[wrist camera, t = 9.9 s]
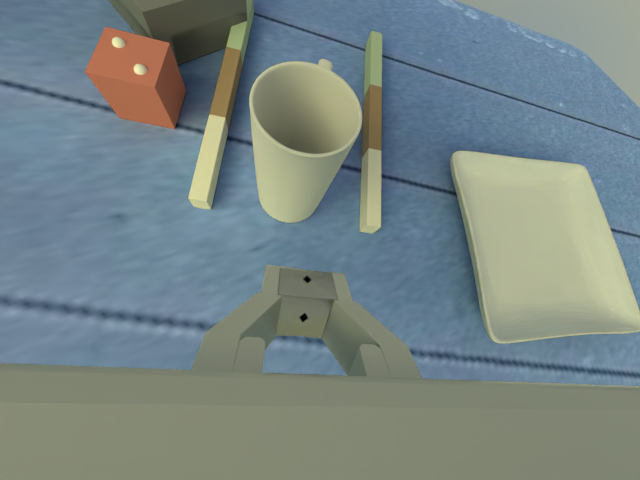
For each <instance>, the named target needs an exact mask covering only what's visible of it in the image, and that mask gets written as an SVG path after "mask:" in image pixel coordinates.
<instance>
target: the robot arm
mask: <svg viewBox="0 0 640 480" xmlns="http://www.w3.org/2000/svg"><path fill="white" fill-rule="evenodd" d="M276 335H284V336H304V337H315V338H323V339H322V340H323V341H324V342H325V344H326V345H327V347H328V348H329V350H330V351H331V352H332V354H333V355H334V357H335V358H336V360H337V361H338V363H339V364H340V365H341V367H342V368H343V370H344V371H345V373H346V374H347V375H348V376H344V375H316V374H289V373H262V370H263V360H264V351H265V350H266V348H267V347H268V346H269V344H270V343H271V342H272V341H273V339H274V338H275V337H276ZM0 480H640V386H617V385H589V384H562V383H535V382H507V381H480V380H452V379H424V378H422V376H421V374H420V372H419V370H418V368H417V366H416V364H415V361H414V359H413V357H412V355H411V353H410V351H409V348H408V346H407V345H406V344H405V343H403V342H402V341H401V340H400V339H399V338H398V337H396V336H395V335H394V334H393V333H392V332H391V331H390V330H388V329H387V328H386V327H385V326H384V325H383V324H381V323H380V322H379V321H378V320H377V319H376V318H375V317H373V316H372V315H371V314H370V313H369V312H368V311H366V310H365V309H364V308H363V307H362V306H361V305H360V304H358V303H357V302H353V300H352V297H351V293H350V290H349V287H348V284H347V280H346V277H345V275H344V274H343V273H334V272H331V273H330V272H320V271H310V270H304V269H296V268H289V267H281V266H280V267H279V266H273V265H266V267H265V273H264V279H263V285H262V291H261V293H256V294H255V295H254V296H252V297H251V298H250V299H248V300H247V301H246V302H245V303H243V304H242V305H241V306H239V307H238V308H237V309H236V310H234V311H233V312H232V313H230V314H229V315H228V316H227V317H225V318H224V319H223V320H221V321H220V322H219V323H218V324H216V325H215V326H214V327H212V328H211V329H210V330H208V331H207V332H206V333H205V335H204V338H203V340H202V343H201V346H200V348H199V351H198V353H197V356H196V359H195V361H194V364H193V366H192V369H191V370H179V369H151V368H124V367H97V366H69V365H42V364H14V363H0Z"/></svg>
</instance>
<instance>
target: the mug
mask: <svg viewBox="0 0 640 480" xmlns="http://www.w3.org/2000/svg"><path fill="white" fill-rule="evenodd" d="M332 67H333V65H332V63H331V62H330V61H328V60H326V59H321V60H320V61H319V63H318V65H317V64H314V63H309V62H302V61H291V62H284V63H280V64H277V65H274V66H272V67H270V68H268V69H267V70H265V71H264V72H263V73H262V74H261V75H260V76H259V77H258V78H257V79H256V81H255V82H254V84H253V86H252V89H251V92H250V98H249V105H250V113H251V130H252V140H253V149H254V159H255V168H256V178H257V186H258V194H259V200H260V203H261V205H262V207H263V208H264V210H265V211H266V212H267V213H268V214H269V215H270V216H271V217H273V218H275V219H276V220H279V221H282V222H287V223H294V222H299V221H302V220H304V219H306V218H308V217H309V216H310V215H312V213H313V212H314V211H315V210H316V208H317V206H318V205H319V203H320V202H321V200H322V198H323V196H324V195H325V193H326V191H327V189H328V188H329V186H330V184H331V182H332V181H333V179H334V177H335V176H336V174H337V172H338V170H339V169H340V167H341V165H342V164H343V162H344V160H345V158H346V157H347V155H348V153H349V151H350V150H351V148H352V146H353V144H354V142H355V140H356V138H357V136H358V135H359V132H360V129H361V126H362V110H361V106H360V103H359V100H358V98H357V96H356V94H355V93H354V91H353V90H352V88H351V87H350V86H349V85H348V84H347V83H346V82H345V81H344V80H343V79H342V78H341V77H340V76H338V75H337V74H336V73H334V72H332Z"/></svg>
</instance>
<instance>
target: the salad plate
mask: <svg viewBox="0 0 640 480" xmlns="http://www.w3.org/2000/svg"><path fill="white" fill-rule="evenodd" d="M450 167H451V174H452V178H453V182H454V186H455V190H456V194H457V198H458V202H459V206H460V210H461V214H462V218H463V223H464V227H465V232H466V236H467V241H468V246H469V251H470V256H471V260H472V266H473V271H474V276H475V282H476V288H477V294H478V300H479V306H480V312H481V317H482V321H483V324H484V327H485V329H486V332H487V333H488V335H489V337H490V338H491V339H492V340H493V341H494V342H496V343H501V344H502V343H515V342H524V341H532V340H539V339H547V338H556V337H565V336H575V335H586V334H623V333H634V332H639V331H640V311H639V308H638V305H637V302H636V299H635V296H634V293H633V290H632V287H631V284H630V281H629V278H628V275H627V273H626V270H625V267H624V264H623V261H622V258H621V256H620V253H619V251H618V248H617V245H616V242H615V240H614V237H613V235H612V232H611V229H610V227H609V224H608V221H607V219H606V216H605V214H604V211H603V208H602V206H601V203H600V201H599V198H598V195H597V193H596V190H595V188H594V185H593V183H592V180H591V178H590V175H589V173H588V171H587V169H586V168H585V167H584V166H582V165H579V164H574V163H566V162H557V161H547V160H538V159H528V158H519V157H511V156H503V155H495V154H488V153H481V152H473V151H456V152H454V153H453V154H452V156H451V160H450Z"/></svg>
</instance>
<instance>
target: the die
mask: <svg viewBox="0 0 640 480" xmlns="http://www.w3.org/2000/svg"><path fill="white" fill-rule="evenodd" d="M85 73H86V74H87V75H88V77H89V78H90V79H91V81H92V82H93V83H94V85H95V86H96V87H97V89H98V90H99V91H100V93H101V94H102V95H103V97H104V98H105V99H106V101H107V102H108V103H109V105H110V106H111V107H112V109H113V110H114V111H115V113H116V114H117V115H118V117H119V118H122V119H127V120H132V121H137V122H142V123H147V124H152V125H157V126H163V127H168V128H173V129H175V127H176V124H177V121H178V117H179V114H180V110H181V107H182V104H183V100H184V97H185V93H186V88H185V85H184V82H183V79H182V76H181V74H180V71H179V68H178V65H177V62H176V59H175V57H174V54H173V51H172V48H171V45H170V43H168V42H164V41H160V40H156V39H152V38H148V37H144V36H140V35H136V34H132V33H128V32H124V31H120V30H116V29H113V28H109V27H105V29H104V31H103V33H102V35H101V38H100V40H99V42H98V44H97V46H96V49H95V51H94V53H93V55H92V57H91V60H90V62H89V64H88V66H87V68H86V71H85Z"/></svg>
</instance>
